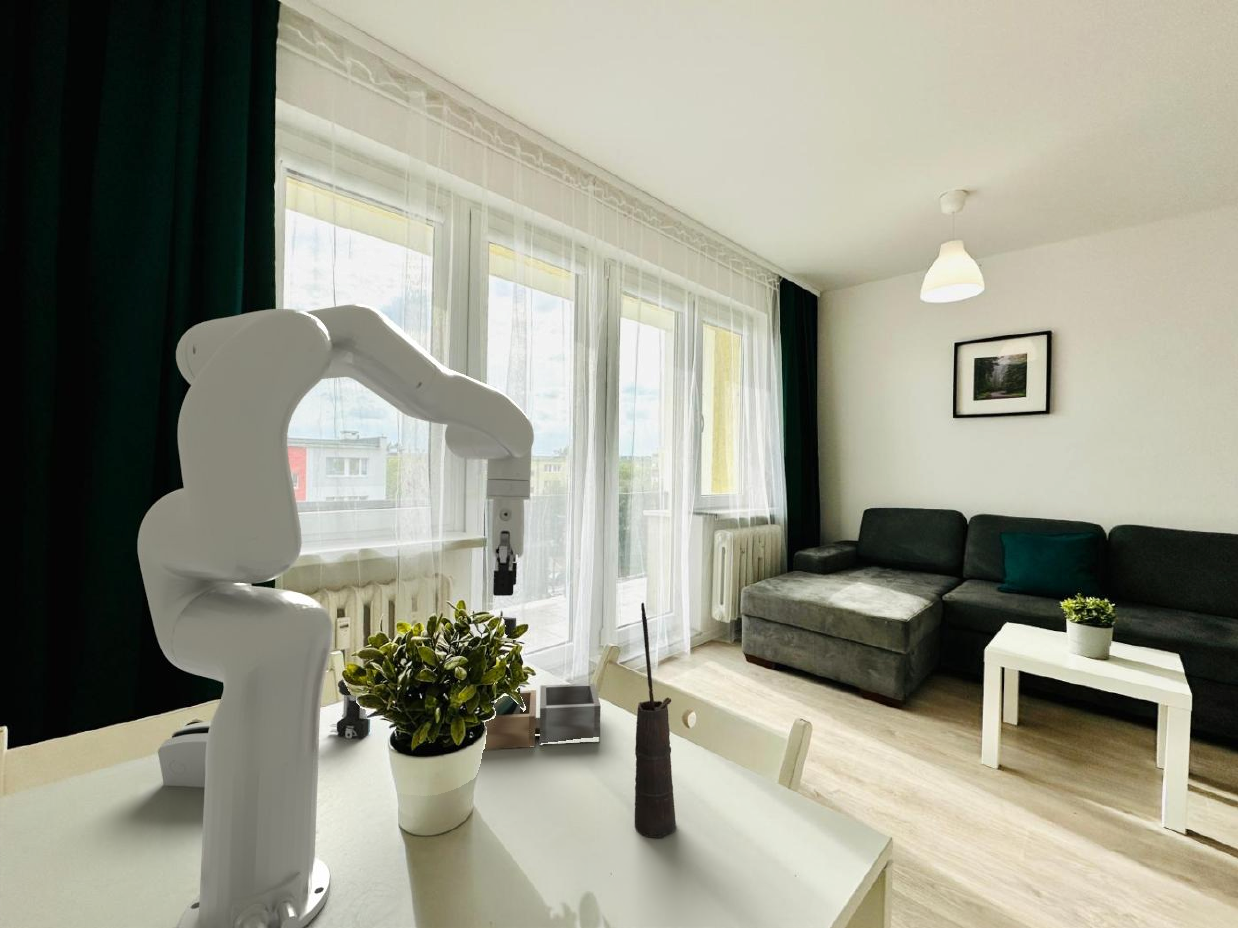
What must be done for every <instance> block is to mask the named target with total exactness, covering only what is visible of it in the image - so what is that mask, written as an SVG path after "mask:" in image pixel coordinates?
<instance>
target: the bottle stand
mask: <svg viewBox="0 0 1238 928" xmlns="http://www.w3.org/2000/svg"><path fill="white" fill-rule="evenodd" d="M539 692H540V693H539V695H540V696H539V717H537V689H536V690H535V689H531V690H520V696H521V697H522V699H523V702H524V704H525V706H526V710H525V711H524V712H523V710H522V709H521V708H520V714H514V715H496V716H495V718H494V719H491V720H489V721H486V722H485V726H486V727H487V735H486V744H485V750H484V751H489V750H490V749H495V750H500V749H499V748H513V749H517V748H516V747H530V746H535V747H536V737H535V734H540V737H539V742H540V743H539V744H541V743H548V742H558V741H566V740H573V739H581V738H593V737H600V738H601V702H600V699H599V698H600V697H599V696H598V695H599V694H598V691H597V687H596V683H595V682H594V683H573V684H572V683H571V684H570V683H569V684H567V683H566V684H545V685H540V691H539ZM490 751H491V750H490Z"/></svg>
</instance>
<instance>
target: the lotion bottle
mask: <svg viewBox="0 0 1238 928" xmlns="http://www.w3.org/2000/svg"><path fill="white" fill-rule="evenodd" d="M499 617H502V618H503V619H504V620H505V625H506V627H505V634H506V635H508V634H509V633H510V632H511V631H512V630H513V629H514V628H516V629H517V617H510V616H509V617H508V616H500V615H499V616H494V618H499ZM515 642H518V641H517V639H516V640H513V643H515ZM517 691H518V693H519V694H520V691H521V687H520V688H518V689H517ZM494 708H495V711H496V715H514V714H520V705H519V704H517V703H516V702H515V701H514V700H513V699H512V698H511V697H510V696H503V697H502V698H500V699H498V700H497V702H496V703H495V704H494Z"/></svg>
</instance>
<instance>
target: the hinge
mask: <svg viewBox="0 0 1238 928" xmlns="http://www.w3.org/2000/svg"><path fill="white" fill-rule="evenodd" d="M211 721H212V720H210V721H202V722H201V721H200V722H196V723H190V724H189V725H188V724H187V725H184V726H182V727H180V728H179V729H177V730H176V731H175V732H173V733H172V734H171V738H170V737H169V738H167V739H166V740H164V742H163V743H162V744H161V746H160V747H159V748H158V750H157V755H158V760H159V767H160V773H161V777H162V783H163V786H168V787H169V786H170V787H172V786H173V787H187V788H188V787H189V788H191V787H192V788H205V770H206V767H205V758H206V743H207V737H208V731H209V727H210V724H211Z"/></svg>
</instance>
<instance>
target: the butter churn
mask: <svg viewBox="0 0 1238 928" xmlns="http://www.w3.org/2000/svg"><path fill="white" fill-rule="evenodd" d="M640 607H641V610H640V611H641V620H642V628H643V641H644V643H643V644H644V651H645V652H644V653H645V661H646V663H645V664H646V674H647V676H646V677H647V686H648V695H649V700H647V701H640V702H639V703H638V705H637V714H636V729H635V732H636V733H635V749H634V750H635V753H634V755H635V758H636V760H635V780H634V781H635V786H634V791H635V793H634V795H635V796H634V827H635V830H636V831H637V832H639V833H640V834H641V835H642V836H645V837H647V838H664V837H665V836H666V834H672V833H674V831H675V830H676V829H677V821H676V810H675V809H676V808H675V799H674V785H673V775H672V774H673V773H672V757H671V753H672V747H671V741H670V735H671V734H670V723H669V708H668V705H670V704H671V702H672V699H671V698H669V697H665V698H664V700H662V701H661V700H654V699H655V698H654V692H653V678H652V667H651V665H652V664H651V655H650V644H649V643H650V642H649V629H648V620H647V616H646V614H647V613H646V608H645V603H644V602H642V603H641V605H640Z"/></svg>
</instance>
